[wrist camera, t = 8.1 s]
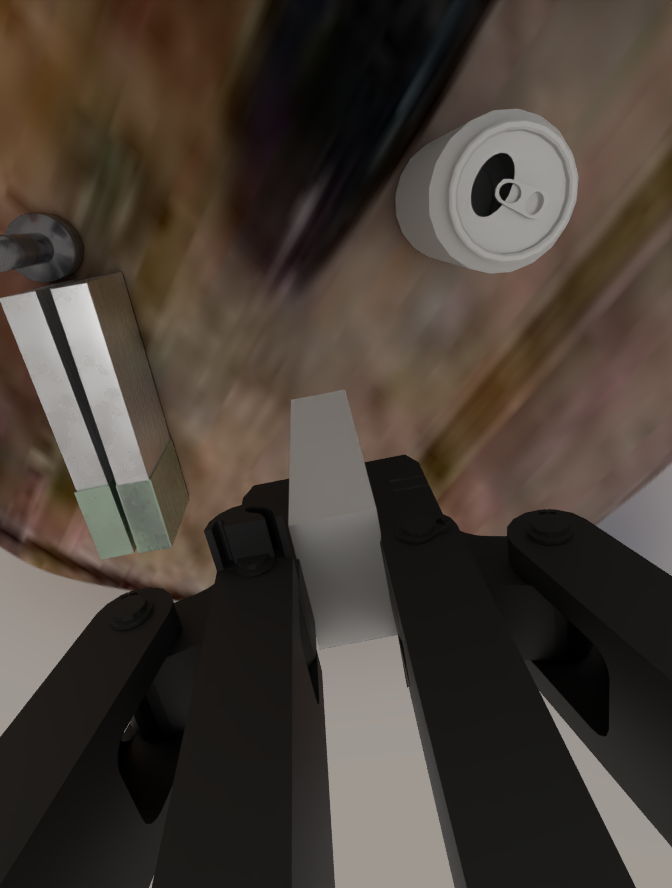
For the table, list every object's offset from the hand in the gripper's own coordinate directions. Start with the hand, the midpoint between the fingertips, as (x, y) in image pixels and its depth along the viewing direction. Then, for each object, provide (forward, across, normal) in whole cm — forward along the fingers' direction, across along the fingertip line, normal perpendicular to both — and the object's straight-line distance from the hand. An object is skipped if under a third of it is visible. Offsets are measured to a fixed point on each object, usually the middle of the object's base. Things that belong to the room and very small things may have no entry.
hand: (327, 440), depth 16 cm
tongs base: (+25, -16, -2) cm, 30 cm away
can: (+26, +10, +4) cm, 28 cm away
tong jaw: (+25, -13, -4) cm, 28 cm away
